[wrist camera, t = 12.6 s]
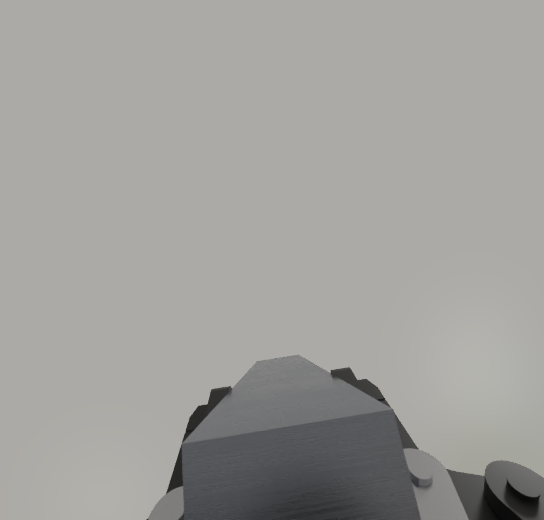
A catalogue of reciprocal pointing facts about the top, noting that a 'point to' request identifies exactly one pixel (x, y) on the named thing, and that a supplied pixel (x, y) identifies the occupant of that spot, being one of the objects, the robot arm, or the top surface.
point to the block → (296, 451)
